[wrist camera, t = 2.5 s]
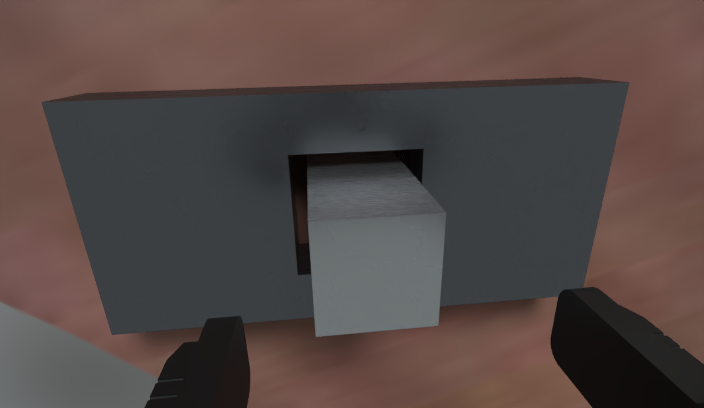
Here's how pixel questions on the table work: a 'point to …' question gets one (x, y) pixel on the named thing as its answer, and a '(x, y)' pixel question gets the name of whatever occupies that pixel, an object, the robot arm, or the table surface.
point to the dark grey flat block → (279, 194)
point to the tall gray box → (372, 244)
